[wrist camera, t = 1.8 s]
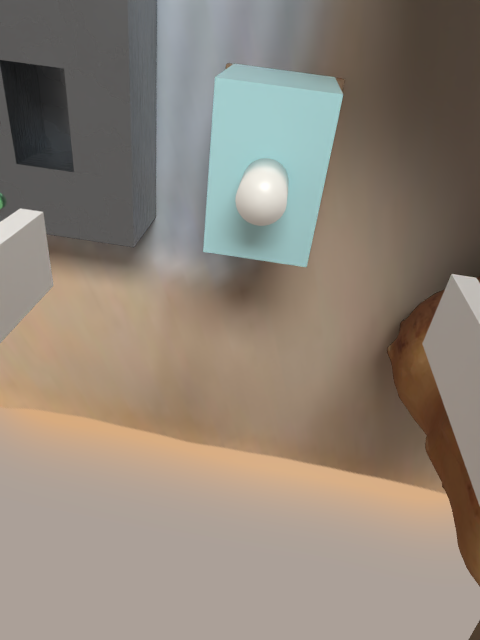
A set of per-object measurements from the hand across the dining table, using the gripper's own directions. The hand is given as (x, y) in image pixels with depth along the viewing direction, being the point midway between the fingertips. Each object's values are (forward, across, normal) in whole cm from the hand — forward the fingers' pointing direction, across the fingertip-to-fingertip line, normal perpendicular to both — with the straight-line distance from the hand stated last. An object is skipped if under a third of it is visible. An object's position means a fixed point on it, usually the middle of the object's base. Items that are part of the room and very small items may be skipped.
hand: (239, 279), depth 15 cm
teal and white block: (+22, 0, 0) cm, 22 cm away
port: (+23, -15, 0) cm, 27 cm away
